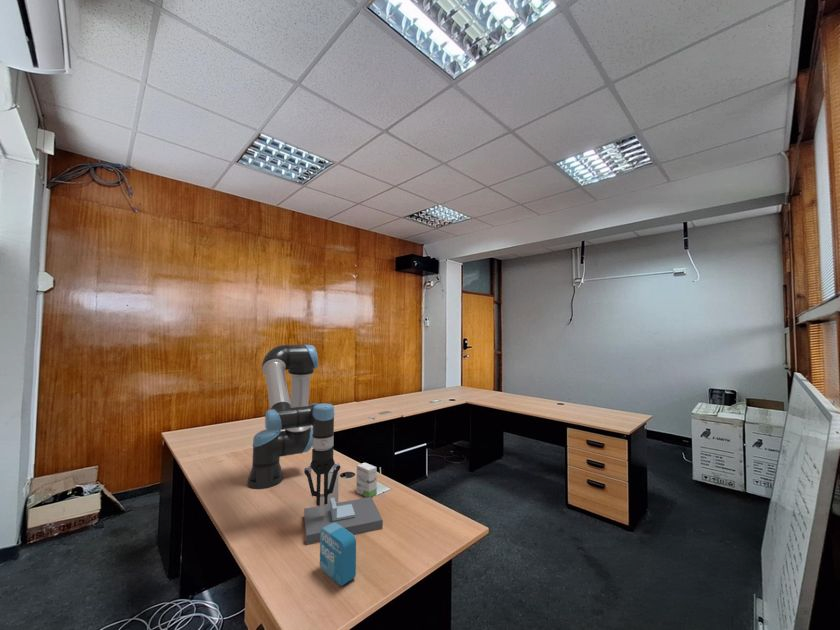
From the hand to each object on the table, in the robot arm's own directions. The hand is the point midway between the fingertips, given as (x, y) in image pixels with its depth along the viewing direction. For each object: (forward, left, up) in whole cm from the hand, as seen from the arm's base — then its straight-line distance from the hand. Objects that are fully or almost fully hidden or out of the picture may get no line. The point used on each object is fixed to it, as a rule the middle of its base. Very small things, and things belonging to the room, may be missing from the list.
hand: (321, 513), depth 120 cm
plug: (-18, +5, -5) cm, 19 cm away
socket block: (0, +7, -5) cm, 9 cm away
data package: (+26, +2, -5) cm, 26 cm away
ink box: (-19, +20, -5) cm, 28 cm away
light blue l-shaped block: (0, +7, -1) cm, 7 cm away
